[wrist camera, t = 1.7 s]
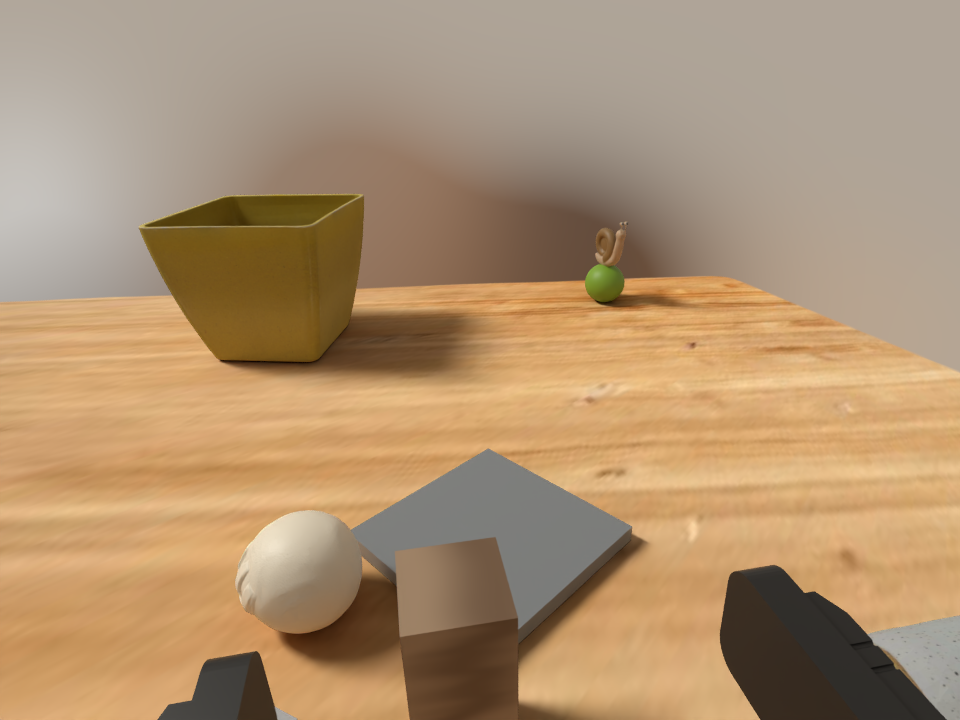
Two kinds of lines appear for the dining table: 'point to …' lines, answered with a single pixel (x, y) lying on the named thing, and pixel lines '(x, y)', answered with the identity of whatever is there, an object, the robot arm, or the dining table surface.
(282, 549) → the steamed bun
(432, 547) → the walnut block
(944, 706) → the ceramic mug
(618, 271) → the snail figurine
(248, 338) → the flower pot
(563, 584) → the plate
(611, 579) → the dining table surface
